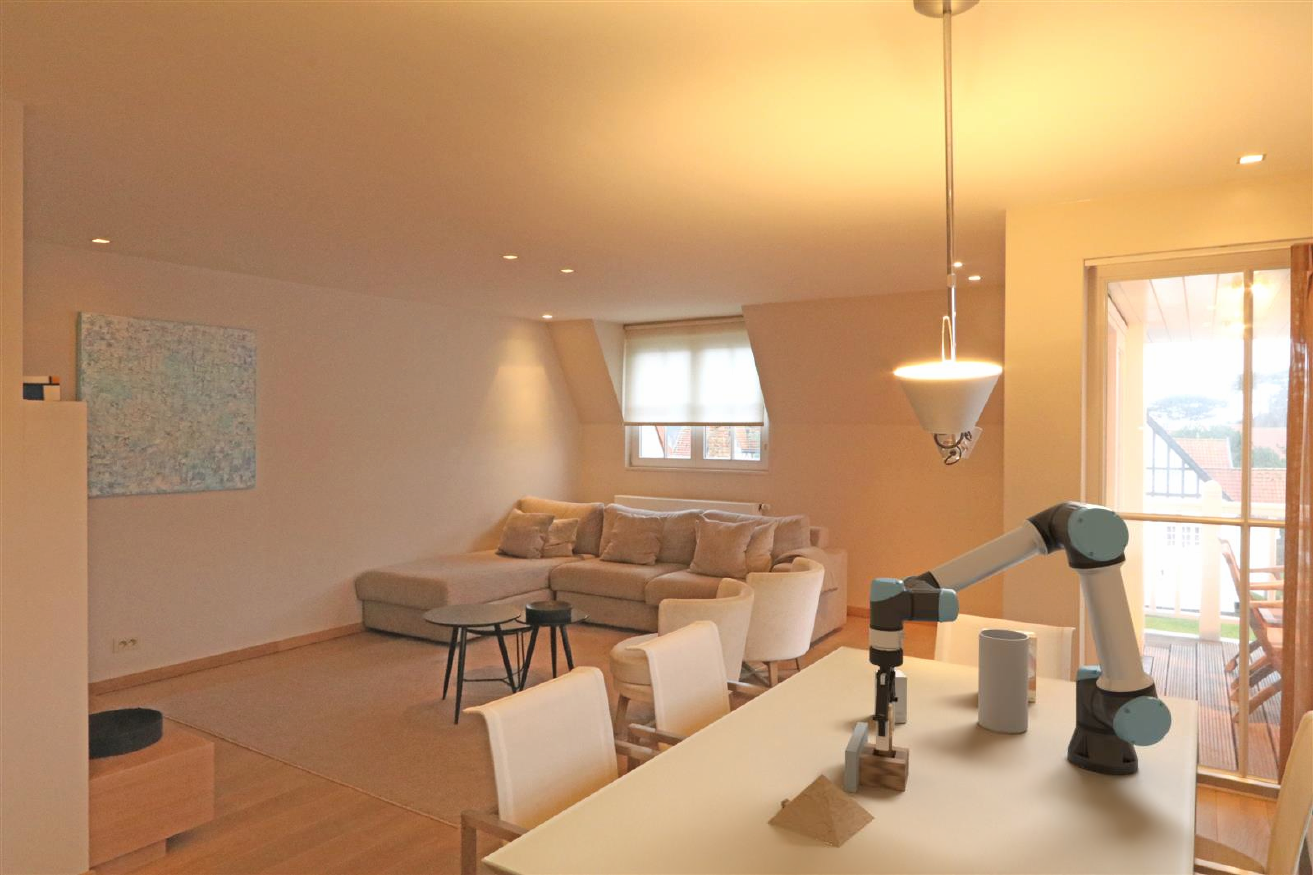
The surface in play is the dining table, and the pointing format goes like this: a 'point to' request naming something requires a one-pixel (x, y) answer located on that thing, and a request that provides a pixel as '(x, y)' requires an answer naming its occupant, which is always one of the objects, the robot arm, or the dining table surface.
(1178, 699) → the dining table surface
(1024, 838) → the dining table surface
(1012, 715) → the cylinder vase
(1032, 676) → the coffeecake box
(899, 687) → the supplement box
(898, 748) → the block
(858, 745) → the panel
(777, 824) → the model pyramid
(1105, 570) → the robot arm
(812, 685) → the dining table surface
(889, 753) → the dowel
